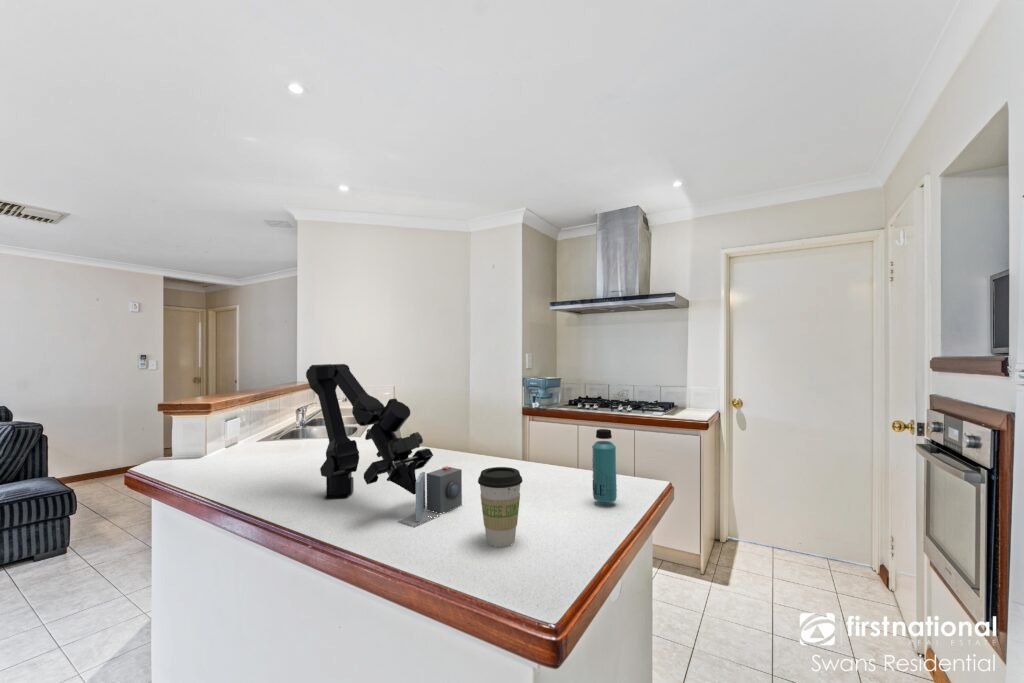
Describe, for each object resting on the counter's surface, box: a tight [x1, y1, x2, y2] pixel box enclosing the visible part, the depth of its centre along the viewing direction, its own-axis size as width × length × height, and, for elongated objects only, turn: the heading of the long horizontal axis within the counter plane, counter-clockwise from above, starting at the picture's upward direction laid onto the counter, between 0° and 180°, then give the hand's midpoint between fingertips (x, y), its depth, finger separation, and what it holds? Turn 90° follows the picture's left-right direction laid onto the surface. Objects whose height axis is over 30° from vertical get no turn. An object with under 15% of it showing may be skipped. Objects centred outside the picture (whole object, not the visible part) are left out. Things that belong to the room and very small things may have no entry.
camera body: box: [398, 465, 463, 528], centre depth 114 cm, size 6×17×10 cm, turn 144°
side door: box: [415, 471, 426, 521], centre depth 112 cm, size 1×9×9 cm, turn 4°
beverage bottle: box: [591, 428, 618, 503], centre depth 120 cm, size 6×7×20 cm
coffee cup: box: [477, 466, 523, 548], centre depth 98 cm, size 10×10×15 cm
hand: (415, 493), depth 111 cm, fingers closed
